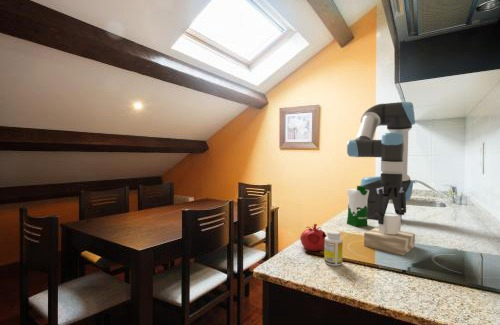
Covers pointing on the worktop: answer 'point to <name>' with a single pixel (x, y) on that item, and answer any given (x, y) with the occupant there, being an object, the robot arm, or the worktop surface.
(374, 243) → the wooden base
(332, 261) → the supplement bottle
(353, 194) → the milk carton
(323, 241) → the pomegranate
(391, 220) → the white cup
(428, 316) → the worktop surface
